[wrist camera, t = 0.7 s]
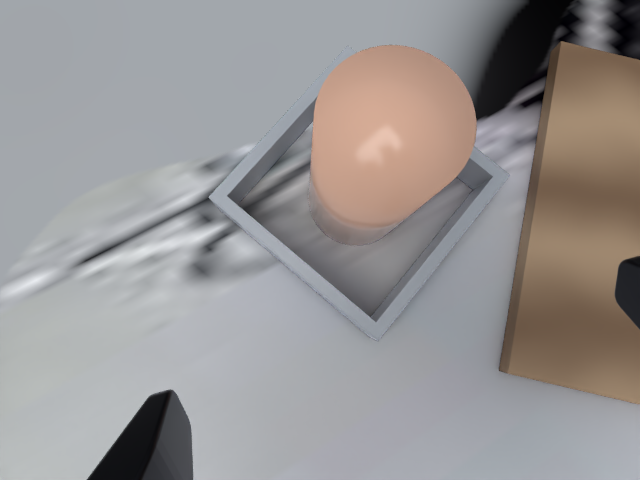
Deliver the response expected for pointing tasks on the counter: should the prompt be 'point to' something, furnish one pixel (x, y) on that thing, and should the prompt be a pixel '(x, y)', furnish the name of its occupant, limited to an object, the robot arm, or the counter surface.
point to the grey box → (226, 198)
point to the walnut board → (580, 230)
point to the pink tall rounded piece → (385, 140)
